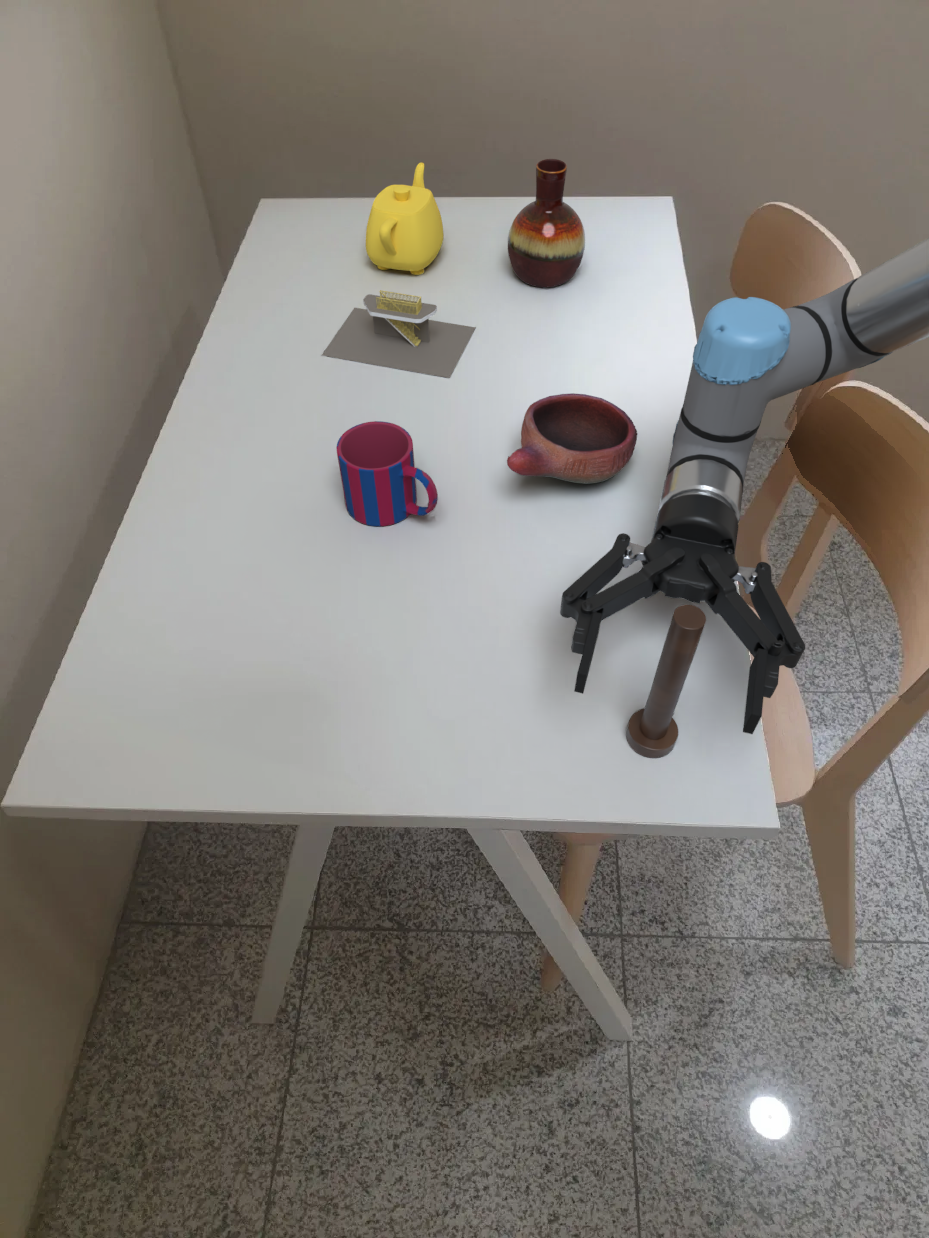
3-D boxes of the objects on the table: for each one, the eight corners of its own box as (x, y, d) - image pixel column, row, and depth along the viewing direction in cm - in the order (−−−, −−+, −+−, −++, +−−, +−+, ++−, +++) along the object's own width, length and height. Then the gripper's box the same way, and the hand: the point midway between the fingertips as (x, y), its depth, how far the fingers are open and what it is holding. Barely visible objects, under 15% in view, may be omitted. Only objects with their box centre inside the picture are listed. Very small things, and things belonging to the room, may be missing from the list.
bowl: (535, 422, 103) (539, 367, 97) (639, 442, 100) (650, 387, 94) (499, 511, 94) (500, 456, 87) (612, 535, 91) (622, 480, 85)
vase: (503, 256, 127) (506, 148, 115) (576, 253, 128) (586, 146, 116) (510, 296, 121) (514, 186, 108) (586, 293, 121) (599, 183, 109)
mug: (383, 467, 98) (377, 411, 92) (456, 518, 93) (455, 461, 86) (331, 502, 95) (320, 446, 88) (403, 556, 89) (398, 501, 83)
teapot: (393, 225, 134) (387, 154, 125) (459, 234, 132) (458, 162, 123) (352, 283, 123) (343, 210, 115) (423, 294, 121) (420, 220, 113)
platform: (449, 378, 109) (448, 333, 104) (321, 355, 112) (314, 310, 107) (475, 327, 116) (475, 283, 111) (354, 307, 119) (349, 263, 114)
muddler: (678, 722, 76) (723, 600, 63) (671, 763, 74) (717, 646, 60) (630, 710, 77) (664, 588, 63) (622, 751, 75) (655, 632, 61)
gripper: (821, 574, 80) (812, 765, 67) (564, 522, 84) (510, 692, 72) (849, 518, 74) (844, 716, 61) (571, 465, 78) (514, 639, 66)
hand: (664, 703), depth 66 cm, fingers open, 13 cm apart
